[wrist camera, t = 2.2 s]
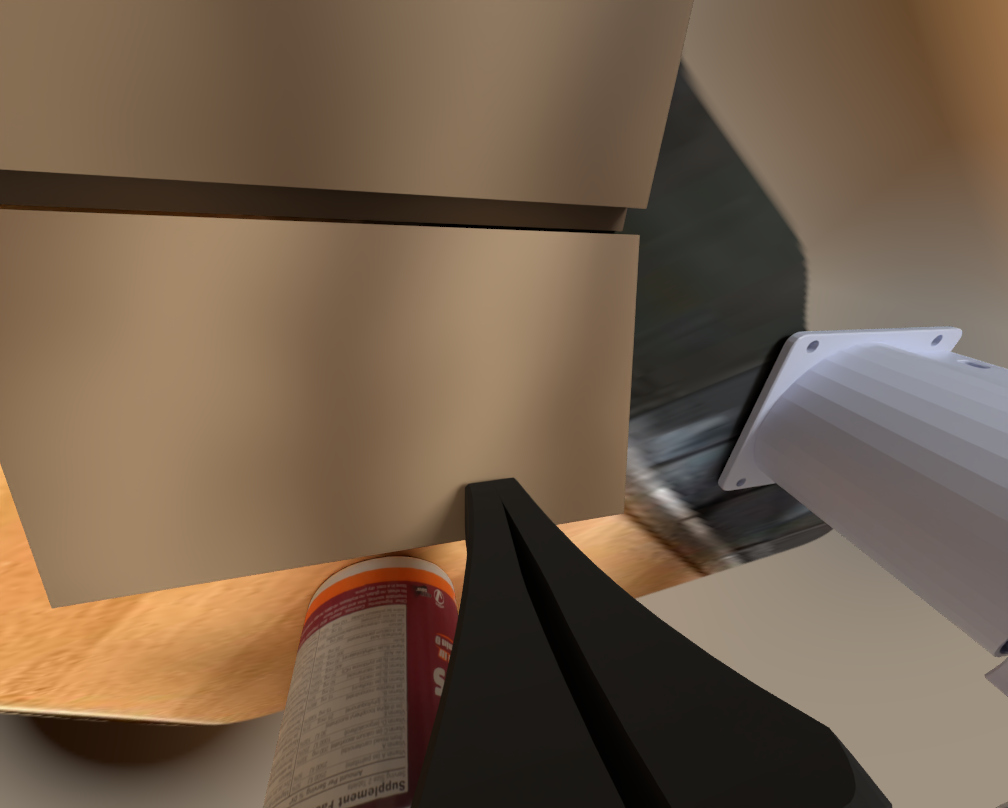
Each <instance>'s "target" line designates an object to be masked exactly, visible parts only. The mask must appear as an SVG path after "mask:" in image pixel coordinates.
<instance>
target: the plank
mask: <svg viewBox="0 0 1008 808" xmlns="http://www.w3.org/2000/svg"><path fill="white" fill-rule="evenodd" d="M639 236H640V235H624V234H599V233H575V232H550V231H526V230H501V229H477V228H452V227H427V226H403V225H378V224H354V223H329V222H304V221H280V220H255V219H231V218H206V217H181V216H157V215H132V214H108V213H83V212H58V211H34V210H9V209H0V463H1V466H2V469H3V472H4V475H5V478H6V480H7V483H8V486H9V489H10V492H11V494H12V497H13V500H14V503H15V506H16V509H17V511H18V514H19V517H20V520H21V523H22V526H23V528H24V531H25V534H26V537H27V540H28V542H29V545H30V548H31V551H32V554H33V557H34V559H35V562H36V565H37V568H38V571H39V574H40V576H41V579H42V582H43V585H44V588H45V590H46V593H47V596H48V599H49V602H50V605H51V607H52V608H57V607H63V606H69V605H75V604H81V603H87V602H94V601H100V600H106V599H112V598H118V597H124V596H130V595H136V594H142V593H148V592H154V591H160V590H166V589H172V588H178V587H184V586H190V585H196V584H202V583H208V582H214V581H220V580H226V579H232V578H238V577H244V576H250V575H256V574H262V573H268V572H274V571H280V570H286V569H292V568H298V567H304V566H310V565H316V564H323V563H329V562H335V561H341V560H347V559H353V558H359V557H365V556H371V555H377V554H383V553H389V552H395V551H401V550H407V549H413V548H419V547H425V546H431V545H437V544H443V543H449V542H455V541H461V540H466V538H465V487H466V486H467V485H468V484H470V483H477V482H484V481H492V480H499V479H506V478H513V477H514V478H515V479H516V480H517V481H518V482H519V483H520V484H521V486H522V487H523V488H524V489H525V491H526V492H527V493H528V494H529V495H530V497H531V498H532V499H533V500H534V501H535V502H536V504H537V505H538V506H539V507H540V508H541V509H542V510H543V512H544V513H545V514H546V515H547V516H548V517H549V518H550V519H551V520H552V522H553V523H554V524H555V525H558V524H564V523H570V522H576V521H582V520H588V519H594V518H600V517H606V516H612V515H618V514H624V500H625V482H626V465H627V447H628V429H629V412H630V394H631V377H632V359H633V342H634V324H635V307H636V289H637V271H638V254H639Z"/></svg>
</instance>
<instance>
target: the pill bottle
mask: <svg viewBox="0 0 1008 808" xmlns="http://www.w3.org/2000/svg"><path fill="white" fill-rule="evenodd" d="M457 620H458V612H457V604H456V598H455V591H454V588H453V584H452V582H451V580H450V578H449V577H448V575H447V574H446V573H445V572H444V571H443V570H442V569H441V568H439V567H438V566H437V565H435V564H433V563H431V562H428V561H426V560H422V559H418V558H412V557H403V556H392V557H384V558H375V559H371V560H366V561H363V562H359V563H356V564H353V565H351V566H348V567H346V568H344V569H342V570H340V571H338V572H337V573H335V574H334V575H332V576H331V577H330V578H329V579H327V580H326V581H325V582H324V583H323V584H322V585H321V586H320V588H319V589H318V590H317V591H316V593H315V594H314V596H313V598H312V600H311V602H310V604H309V607H308V611H307V614H306V618H305V623H304V627H303V631H302V635H301V639H300V643H299V647H298V651H297V657H296V661H295V666H294V671H293V675H292V680H291V684H290V689H289V693H288V697H287V702H286V707H285V711H284V716H283V720H282V724H281V729H280V733H279V738H278V742H277V747H276V751H275V756H274V760H273V765H272V769H271V774H270V778H269V783H268V787H267V792H266V796H265V801H264V806H263V808H410V807H411V804H412V800H413V797H414V794H415V790H416V787H417V783H418V780H419V776H420V773H421V769H422V765H423V762H424V758H425V754H426V750H427V747H428V743H429V739H430V736H431V732H432V728H433V724H434V721H435V717H436V713H437V710H438V706H439V702H440V698H441V694H442V689H443V685H444V681H445V677H446V672H447V668H448V663H449V659H450V654H451V650H452V646H453V641H454V636H455V631H456V626H457Z"/></svg>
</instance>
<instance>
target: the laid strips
mask: <svg viewBox="0 0 1008 808" xmlns="http://www.w3.org/2000/svg"><path fill="white" fill-rule="evenodd" d="M693 2H694V0H0V204H5V205H29V206H52V207H75V208H98V209H121V210H145V211H168V212H191V213H214V214H237V215H261V216H284V217H307V218H330V219H353V220H376V221H400V222H423V223H446V224H469V225H492V226H516V227H539V228H562V229H585V230H608V231H623V226H624V221H625V216H626V212H627V207H628V208H644V209H646V208H647V203H648V199H649V195H650V190H651V186H652V181H653V177H654V173H655V168H656V164H657V160H658V155H659V151H660V146H661V142H662V138H663V133H664V129H665V125H666V120H667V116H668V111H669V107H670V103H671V98H672V94H673V89H674V85H675V81H676V76H677V72H678V68H679V63H680V59H681V54H682V50H683V46H684V41H685V37H686V32H687V28H688V23H689V19H690V15H691V11H692V6H693Z"/></svg>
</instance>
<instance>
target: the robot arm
mask: <svg viewBox="0 0 1008 808" xmlns="http://www.w3.org/2000/svg"><path fill="white" fill-rule="evenodd" d="M961 336H962V330H961V329H959V328H955V327H950V326H947V327H946V326H944V327H916V328H889V329H861V330H833V331H805V332H797V333H795V334H793V335H791V336H790V337H789V338H788V339H787V340H786V342H785V343H784V345H783V347H782V350H781V352H780V354H779V356H778V358H777V360H776V362H775V364H774V366H773V368H772V370H771V372H770V374H769V377H768V379H767V381H766V383H765V385H764V387H763V389H762V391H761V393H760V395H759V397H758V399H757V401H756V403H755V406H754V408H753V410H752V412H751V414H750V416H749V418H748V420H747V422H746V424H745V426H744V428H743V430H742V433H741V435H740V437H739V439H738V441H737V443H736V445H735V447H734V449H733V451H732V453H731V455H730V457H729V459H728V462H727V464H726V466H725V468H724V470H723V472H722V474H721V476H720V478H719V481H718V485H719V486H720V487H721V488H722V489H723V490H725V491H731V490H737V489H743V488H749V487H755V486H761V485H768V484H774V483H777V484H778V485H779V486H780V487H782V488H783V489H784V490H785V491H787V492H788V493H789V494H790V495H792V496H793V497H794V498H795V499H797V500H798V501H799V502H800V503H802V504H803V505H804V506H805V507H807V508H808V509H809V510H811V511H812V512H813V513H814V514H816V515H817V516H818V517H819V518H821V519H822V520H823V521H824V522H826V523H827V524H828V525H829V526H831V527H832V528H833V529H835V530H836V531H837V532H838V533H840V534H841V535H842V536H843V537H845V538H846V539H847V540H848V541H850V542H851V543H852V544H854V545H855V546H856V547H857V548H859V549H860V550H861V551H862V552H864V553H865V554H866V555H867V556H869V557H870V558H871V559H872V560H874V561H875V562H877V564H879V565H880V566H881V567H882V568H884V569H885V570H886V571H887V572H889V573H890V574H891V575H893V576H894V577H895V578H896V579H898V580H899V581H900V582H901V583H903V584H904V585H905V586H907V587H908V588H909V589H910V590H911V591H913V592H914V593H915V594H916V595H918V596H919V597H920V598H922V599H923V600H924V601H926V602H927V603H928V604H929V605H930V606H932V607H933V608H934V609H935V610H937V611H938V612H939V613H940V614H942V615H943V616H944V617H946V618H947V619H948V620H949V621H951V622H952V623H953V624H954V625H956V626H957V627H958V628H959V629H961V630H962V631H963V632H965V633H966V634H967V635H968V636H969V637H971V638H972V639H973V640H974V641H976V642H977V643H978V644H979V645H981V646H982V647H983V648H985V649H986V650H987V651H989V652H990V653H991V654H992V655H993V656H995V657H1001V656H1007V655H1008V369H1006V368H1002V367H999V366H996V365H992V364H989V363H986V362H983V361H979V360H976V359H973V358H969V357H966V356H963V355H960V354H956V353H953V352H950V351H951V350H952V349H953V347H954V346H955V344H956V343H957V342H958V341H959V339H960V338H961ZM465 538H466V548H467V561H466V569H465V576H464V584H463V591H462V598H461V604H460V609H459V615H458V620H457V626H456V631H455V636H454V641H453V646H452V650H451V654H450V659H449V663H448V668H447V672H446V677H445V681H444V685H443V689H442V694H441V698H440V702H439V706H438V710H437V713H436V717H435V721H434V724H433V728H432V732H431V736H430V739H429V743H428V747H427V750H426V754H425V758H424V762H423V765H422V769H421V773H420V776H419V780H418V783H417V787H416V790H415V794H414V797H413V800H412V804H411V807H410V808H892V804H891V803H890V801H889V800H888V799H887V798H886V796H885V795H884V794H883V793H882V791H881V790H880V789H879V788H878V786H877V785H876V784H875V783H874V782H873V780H872V779H871V778H870V776H869V775H868V774H867V773H866V771H865V770H864V769H863V768H862V766H861V765H860V764H859V763H858V761H857V760H856V759H855V758H854V756H853V755H852V754H851V753H850V752H849V750H848V749H847V748H846V747H845V746H844V745H843V743H842V742H841V741H840V740H839V739H838V737H837V736H836V735H835V734H834V733H833V732H832V731H831V730H830V728H829V727H827V726H825V725H824V724H822V723H820V722H818V721H817V720H815V719H813V718H812V717H810V716H808V715H807V714H805V713H803V712H802V711H800V710H798V709H796V708H795V707H793V706H791V705H790V704H788V703H786V702H784V701H783V700H781V699H779V698H778V697H776V696H774V695H773V694H771V693H769V692H768V691H766V690H764V689H763V688H761V687H759V686H758V685H756V684H754V683H753V682H751V681H750V680H748V679H747V678H745V677H743V676H742V675H740V674H739V673H737V672H736V671H734V670H733V669H731V668H730V667H728V666H727V665H725V664H724V663H722V662H721V661H719V660H717V659H716V658H714V657H713V656H711V655H710V654H709V653H707V652H706V651H704V650H703V649H701V648H700V647H699V646H697V645H696V644H695V643H693V642H692V641H690V640H689V639H688V638H686V637H685V636H683V635H682V634H681V633H679V632H677V631H676V630H675V629H673V628H672V627H671V626H669V625H668V624H667V623H665V622H664V621H662V620H661V619H660V618H658V617H657V616H656V615H655V614H653V613H652V612H651V611H649V610H648V609H647V608H646V607H644V606H643V605H642V604H641V603H639V602H638V601H637V600H636V599H634V598H633V597H632V596H631V595H630V594H628V593H627V592H626V591H625V590H624V589H622V588H621V587H620V586H619V585H618V584H616V583H615V582H614V581H613V580H612V579H611V578H610V577H608V576H607V575H606V574H605V573H604V572H603V571H602V570H601V569H600V568H598V567H597V566H596V565H595V564H594V563H593V562H592V561H591V560H590V559H589V558H588V557H587V556H586V555H585V554H584V553H583V552H582V551H581V550H580V549H579V548H578V547H577V546H576V545H574V544H573V543H572V542H571V540H570V539H569V538H568V537H567V536H566V535H565V534H564V533H563V532H562V531H561V530H560V529H559V528H558V527H557V526H556V525H555V524H554V523H553V522H552V520H551V519H550V518H549V517H548V516H547V515H546V514H545V513H544V512H543V510H542V509H541V508H540V507H539V506H538V505H537V504H536V502H535V501H534V500H533V499H532V498H531V497H530V495H529V494H528V493H527V492H526V491H525V489H524V488H523V487H522V486H521V484H520V483H519V482H518V481H517V480H516V479H515V478H514V477H513V478H506V479H499V480H492V481H484V482H477V483H470V484H468V485H467V486H466V487H465ZM985 678H986V679H988V681H990V682H991V683H992V684H993V685H994V686H995V687H997V688H998V689H999V690H1000V691H1002V692H1003V693H1004V694H1005V695H1006V696H1007V697H1008V657H1007V658H1006V660H1005V661H1003V662H1002V663H1001V664H1000V665H998V666H997V667H995V668H994V669H993V670H991V671H989V672H988V673H987V674H985ZM996 808H1008V802H1006V803H1004V804H1001V805H1000V806H998V807H996Z"/></svg>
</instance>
